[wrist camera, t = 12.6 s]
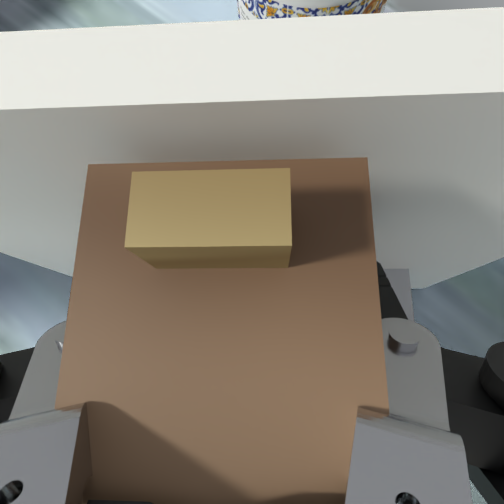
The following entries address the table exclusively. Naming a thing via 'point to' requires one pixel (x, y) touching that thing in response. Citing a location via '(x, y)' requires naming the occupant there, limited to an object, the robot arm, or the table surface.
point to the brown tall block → (224, 329)
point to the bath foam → (306, 8)
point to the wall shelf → (268, 122)
